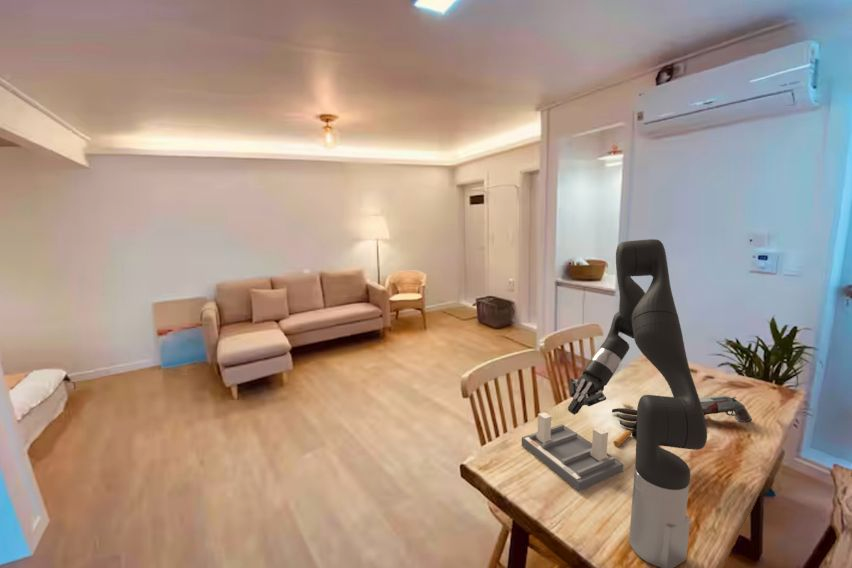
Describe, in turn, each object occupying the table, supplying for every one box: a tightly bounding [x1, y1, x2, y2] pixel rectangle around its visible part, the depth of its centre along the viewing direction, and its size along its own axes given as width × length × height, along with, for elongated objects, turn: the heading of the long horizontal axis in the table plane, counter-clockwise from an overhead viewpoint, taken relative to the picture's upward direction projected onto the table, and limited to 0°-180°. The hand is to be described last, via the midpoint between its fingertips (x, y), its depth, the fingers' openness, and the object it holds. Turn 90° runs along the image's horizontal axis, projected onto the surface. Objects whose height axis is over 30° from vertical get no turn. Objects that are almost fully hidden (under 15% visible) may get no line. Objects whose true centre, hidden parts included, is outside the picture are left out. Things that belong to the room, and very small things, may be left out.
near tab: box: [590, 426, 609, 461], centre depth 103 cm, size 4×2×8 cm, turn 25°
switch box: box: [521, 423, 624, 492], centre depth 108 cm, size 22×16×4 cm
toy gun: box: [699, 394, 753, 423], centre depth 126 cm, size 4×20×10 cm, turn 80°
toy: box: [611, 407, 637, 447], centre depth 121 cm, size 23×4×30 cm
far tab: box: [536, 411, 552, 443], centre depth 111 cm, size 4×2×8 cm, turn 25°
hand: (571, 412), depth 115 cm, fingers closed
